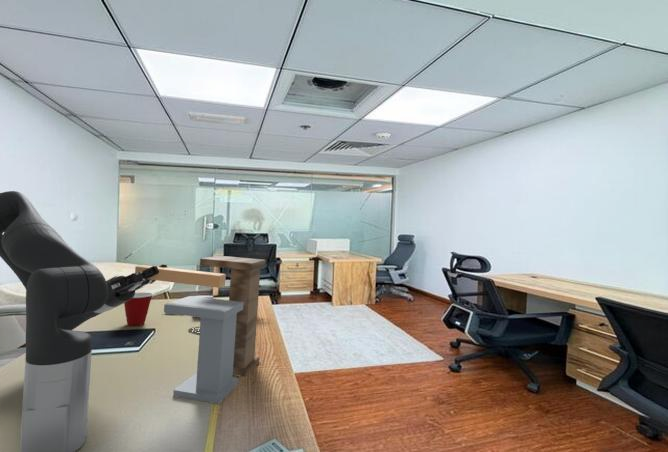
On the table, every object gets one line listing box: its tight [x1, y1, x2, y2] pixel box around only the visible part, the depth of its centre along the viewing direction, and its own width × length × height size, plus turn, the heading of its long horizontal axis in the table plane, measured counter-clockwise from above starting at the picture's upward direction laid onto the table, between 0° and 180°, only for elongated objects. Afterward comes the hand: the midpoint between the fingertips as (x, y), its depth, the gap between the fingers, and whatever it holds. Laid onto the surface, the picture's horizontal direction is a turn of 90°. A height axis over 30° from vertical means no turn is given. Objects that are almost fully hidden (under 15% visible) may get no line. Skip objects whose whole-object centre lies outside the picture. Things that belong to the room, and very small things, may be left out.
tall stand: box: [199, 255, 267, 377], centre depth 95 cm, size 16×10×32 cm, turn 80°
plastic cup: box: [123, 292, 154, 327], centre depth 125 cm, size 11×11×12 cm
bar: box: [134, 264, 227, 289], centre depth 82 cm, size 24×3×3 cm, turn 80°
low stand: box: [163, 295, 244, 405], centre depth 81 cm, size 16×10×22 cm, turn 80°
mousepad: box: [187, 327, 200, 335], centre depth 122 cm, size 9×8×1 cm
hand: (161, 268), depth 83 cm, fingers closed on bar, 3 cm apart
